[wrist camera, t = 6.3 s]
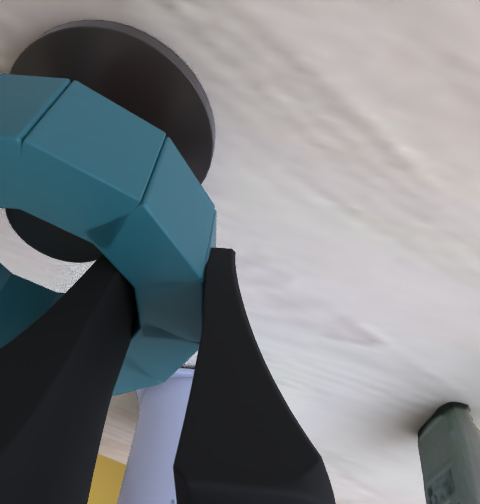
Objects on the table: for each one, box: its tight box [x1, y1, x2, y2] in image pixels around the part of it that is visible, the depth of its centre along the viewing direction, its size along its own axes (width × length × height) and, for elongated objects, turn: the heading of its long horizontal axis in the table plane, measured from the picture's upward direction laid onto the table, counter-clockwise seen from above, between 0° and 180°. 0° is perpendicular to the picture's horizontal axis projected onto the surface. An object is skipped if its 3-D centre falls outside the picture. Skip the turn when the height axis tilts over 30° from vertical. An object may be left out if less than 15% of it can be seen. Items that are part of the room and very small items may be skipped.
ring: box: [0, 74, 216, 396], centre depth 13 cm, size 10×10×3 cm
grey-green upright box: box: [418, 402, 480, 504], centre depth 30 cm, size 6×5×8 cm
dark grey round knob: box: [5, 20, 215, 263], centre depth 17 cm, size 8×8×6 cm
